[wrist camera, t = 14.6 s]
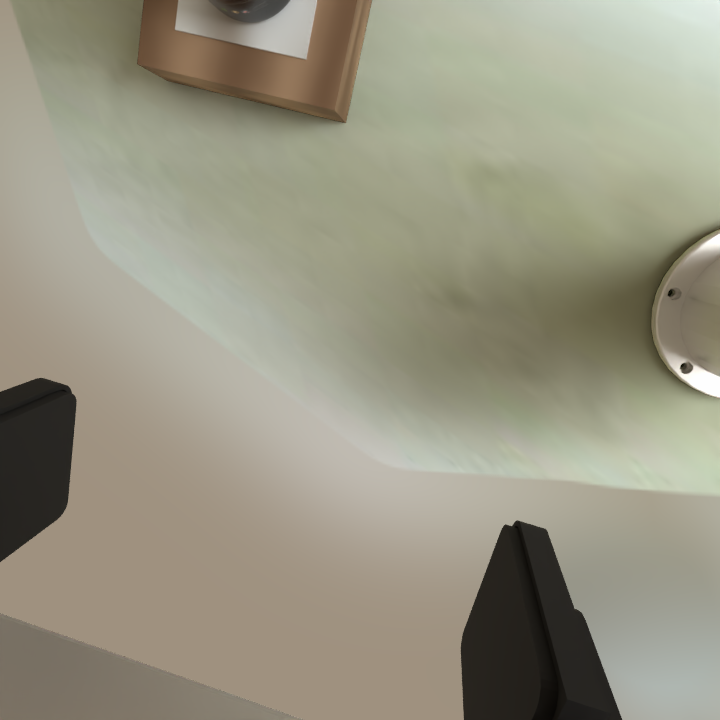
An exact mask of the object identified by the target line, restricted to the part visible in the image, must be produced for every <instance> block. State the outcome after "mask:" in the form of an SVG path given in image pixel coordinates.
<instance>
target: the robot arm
mask: <svg viewBox="0 0 720 720" xmlns="http://www.w3.org/2000/svg"><path fill="white" fill-rule="evenodd" d="M670 289H672V294H671V295H670V296H668V292H669V290H670ZM651 328H652V334H653V340H654V344H655V346H656V348H657V351H658V353H659V356H660V357H661V359H662V360H663V362H664V363H665V365H666V366H667V368H668V369H669V370H670V371H671V372H672V373H673V374H674V375H675V376H677V377H678V378H679V379H680V380H681V381H683V382H684V383H686V384H687V385H689V386H690V387H692V388H694V389H696V390H698V391H700V392H702V393H704V394H706V395H709V396H713V397H716V398H720V229H719V230H717V231H715V232H713V233H711V234H709V235H707V236H705V237H703V238H702V239H700V240H699V241H698V242H696V243H695V244H694V245H692V246H691V247H689V248H688V249H687V250H686V251H685V252H684V253H683V254H682V255H681V256H680V257H679V258H678V259H677V260H676V261H675V262H674V263H673V265H672V266H671V268H670V269H669V270H668V272H667V273H666V275H665V276H664V277H663V280H662V282H661V284H660V286H659V288H658V290H657V293H656V296H655V300H654V304H653V308H652V319H651ZM683 363H684V366H683V367H682V368H680V366H681V365H682V364H683ZM75 413H76V397H75V396H74V395H73V394H72V392H71V389H70V388H69V387H68V386H67V385H64V384H61V383H57V382H53V381H51V380H47V379H44V378H39V379H35V380H32V381H29V382H26V383H24V384H21V385H18V386H15V387H12V388H10V389H7V390H4V391H2V392H0V562H1V561H2V560H3V559H5V558H6V557H8V556H9V555H10V554H12V553H13V552H14V551H15V550H17V549H18V548H20V547H21V546H22V545H24V544H25V543H26V542H27V541H29V540H30V539H32V538H33V537H34V536H36V535H37V534H38V533H40V532H41V531H42V530H44V529H45V528H46V527H48V526H49V525H50V524H52V523H53V522H54V521H56V520H57V519H58V518H59V517H60V516H61V515H62V514H63V512H64V510H65V509H66V506H67V503H68V494H69V482H70V470H71V459H72V447H73V437H74V425H75ZM461 663H462V686H463V709H464V720H622V718H621V716H620V713H619V710H618V707H617V705H616V702H615V699H614V697H613V694H612V691H611V688H610V686H609V683H608V680H607V677H606V675H605V672H604V669H603V667H602V664H601V661H600V658H599V656H598V653H597V650H596V648H595V645H594V642H593V640H592V637H591V634H590V631H589V628H588V626H587V623H586V620H585V618H584V616H583V615H582V613H581V612H580V611H578V610H577V609H574V606H573V603H572V600H571V598H570V595H569V592H568V589H567V586H566V583H565V581H564V578H563V575H562V572H561V569H560V566H559V563H558V560H557V558H556V555H555V552H554V549H553V546H552V543H551V541H550V538H549V535H548V532H547V530H546V529H544V528H540V527H537V526H534V525H531V524H527V523H524V522H520V521H516V522H515V523H514V524H513V526H509V525H504V526H503V528H502V530H501V533H500V535H499V538H498V540H497V543H496V546H495V548H494V551H493V554H492V556H491V559H490V562H489V565H488V567H487V570H486V573H485V575H484V578H483V581H482V583H481V586H480V589H479V591H478V594H477V597H476V599H475V602H474V605H473V607H472V610H471V613H470V615H469V618H468V621H467V624H466V626H465V629H464V632H463V636H462V643H461ZM0 720H303V719H300V718H297V717H294V716H291V715H289V714H285V713H283V712H280V711H277V710H274V709H272V708H269V707H266V706H263V705H260V704H258V703H255V702H252V701H249V700H246V699H243V698H240V697H238V696H235V695H232V694H229V693H227V692H224V691H221V690H218V689H215V688H213V687H210V686H207V685H204V684H201V683H199V682H195V681H193V680H190V679H187V678H184V677H182V676H179V675H176V674H173V673H170V672H167V671H165V670H162V669H159V668H156V667H153V666H150V665H147V664H144V663H141V662H139V661H136V660H133V659H130V658H127V657H125V656H122V655H119V654H116V653H113V652H110V651H107V650H104V649H102V648H99V647H96V646H93V645H90V644H87V643H84V642H82V641H78V640H76V639H73V638H70V637H67V636H64V635H61V634H58V633H55V632H53V631H50V630H47V629H44V628H41V627H38V626H35V625H32V624H30V623H27V622H24V621H21V620H18V619H15V618H12V617H9V616H7V615H4V614H1V613H0Z"/></svg>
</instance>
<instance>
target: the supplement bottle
mask: <svg viewBox="0 0 720 720" xmlns="http://www.w3.org/2000/svg"><path fill="white" fill-rule="evenodd" d="M208 1H209V2H210V3H211V4H212V5H214V6H215V7H216V8H217V9H218V10H219V11H221V12H222V13H223V14H225V15H226V16H228V17H230V18H232V19H234V20H237V21H240V22H247V23H256V22H261V21H265V20H267V19H270V18H271V17H273V16H275V15H276V14H278V13H279V12H280V11H281V10H283V9H284V7H285V6H286V5H287V4H288V3H289V2H290V0H208Z"/></svg>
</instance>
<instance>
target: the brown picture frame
mask: <svg viewBox="0 0 720 720" xmlns="http://www.w3.org/2000/svg"><path fill="white" fill-rule="evenodd" d="M371 3H372V0H290V2H289V3H288V4H287V5H286V6H285V7H284V9H283V10H281V11H280V12H279V13H278V14H276V15H275V16H273V17H271V18H270V19H267V20H265V21H261V22H256V23H247V22H240V21H237V20H234V19H232V18H230V17H228V16H226V15H225V14H223V13H222V12H221V11H219V10H218V9H217V8H216V7H215V6H214V5H212V4H211V3H210V2H209V1H208V0H144V3H143V13H142V23H141V32H140V42H139V52H138V62H137V64H138V65H140V66H142V67H144V68H145V69H147V70H149V71H151V72H153V73H155V74H156V75H158V76H160V77H162V78H164V79H165V80H167V81H171V82H175V83H179V84H183V85H188V86H192V87H196V88H200V89H205V90H209V91H213V92H217V93H222V94H226V95H230V96H234V97H238V98H243V99H247V100H251V101H255V102H260V103H264V104H268V105H272V106H277V107H281V108H285V109H289V110H294V111H298V112H302V113H306V114H311V115H315V116H319V117H323V118H328V119H332V120H336V121H340V122H345V123H346V120H347V115H348V110H349V106H350V101H351V96H352V92H353V87H354V82H355V78H356V73H357V68H358V64H359V59H360V54H361V49H362V45H363V40H364V35H365V31H366V26H367V21H368V17H369V12H370V7H371Z"/></svg>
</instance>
